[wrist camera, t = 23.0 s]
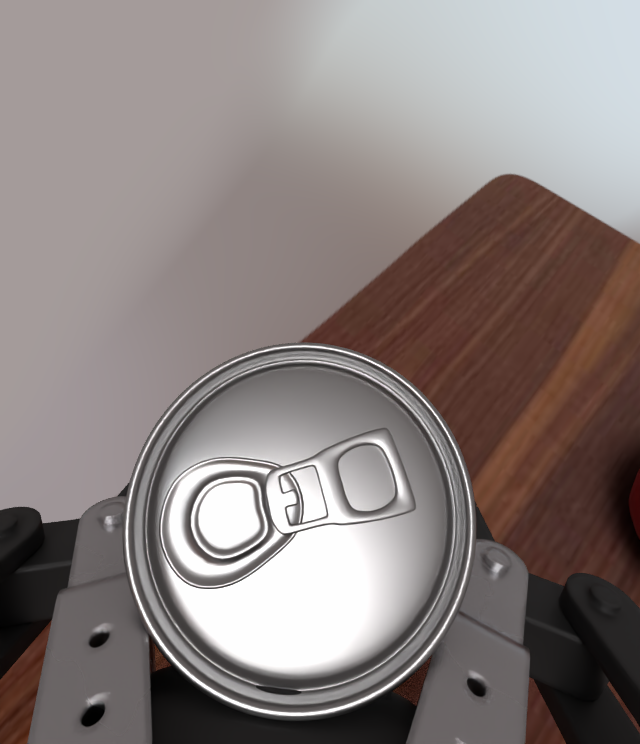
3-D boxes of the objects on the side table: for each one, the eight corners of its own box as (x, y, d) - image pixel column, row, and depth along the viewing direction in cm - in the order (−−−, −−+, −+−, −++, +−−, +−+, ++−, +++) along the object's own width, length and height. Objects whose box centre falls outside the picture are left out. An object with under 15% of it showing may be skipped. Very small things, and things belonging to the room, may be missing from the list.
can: (224, 471, 18) (87, 364, 7) (352, 437, 18) (415, 293, 8) (250, 626, 15) (96, 860, 4) (397, 578, 16) (588, 668, 5)
